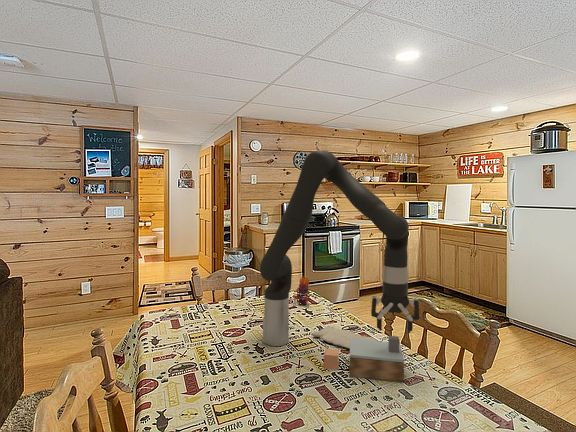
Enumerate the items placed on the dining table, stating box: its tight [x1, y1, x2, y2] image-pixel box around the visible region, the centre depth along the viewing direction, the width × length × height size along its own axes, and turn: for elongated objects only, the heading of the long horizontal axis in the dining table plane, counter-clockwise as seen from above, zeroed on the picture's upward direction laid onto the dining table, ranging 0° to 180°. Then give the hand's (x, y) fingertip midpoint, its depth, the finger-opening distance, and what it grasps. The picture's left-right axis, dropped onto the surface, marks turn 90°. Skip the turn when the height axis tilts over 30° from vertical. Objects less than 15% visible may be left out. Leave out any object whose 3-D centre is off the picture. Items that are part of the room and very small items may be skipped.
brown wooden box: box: [348, 356, 405, 383], centre depth 112 cm, size 16×12×6 cm
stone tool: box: [311, 325, 378, 350], centre depth 132 cm, size 13×4×25 cm
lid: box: [349, 335, 405, 364], centre depth 111 cm, size 16×12×5 cm
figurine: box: [291, 275, 311, 307], centre depth 175 cm, size 8×9×15 cm
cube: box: [323, 348, 340, 370], centre depth 115 cm, size 4×4×4 cm
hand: (394, 330), depth 110 cm, fingers open, 8 cm apart
